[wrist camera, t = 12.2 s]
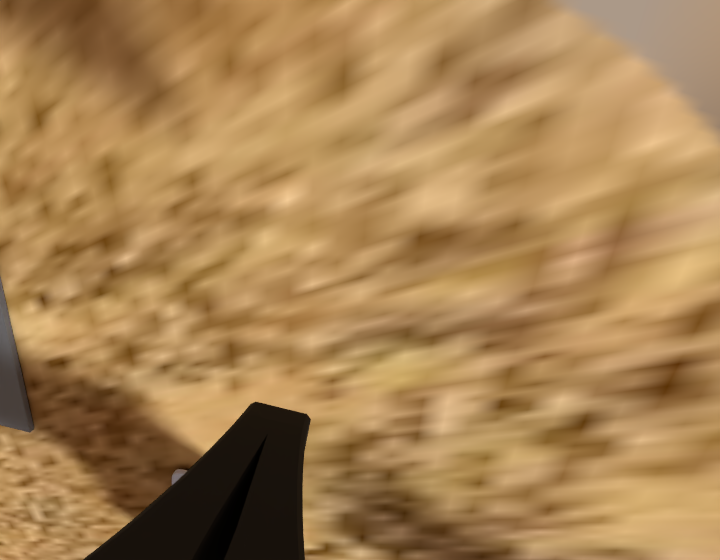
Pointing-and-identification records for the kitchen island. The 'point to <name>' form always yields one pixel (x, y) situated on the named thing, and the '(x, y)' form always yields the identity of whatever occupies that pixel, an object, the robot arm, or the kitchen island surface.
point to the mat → (11, 377)
